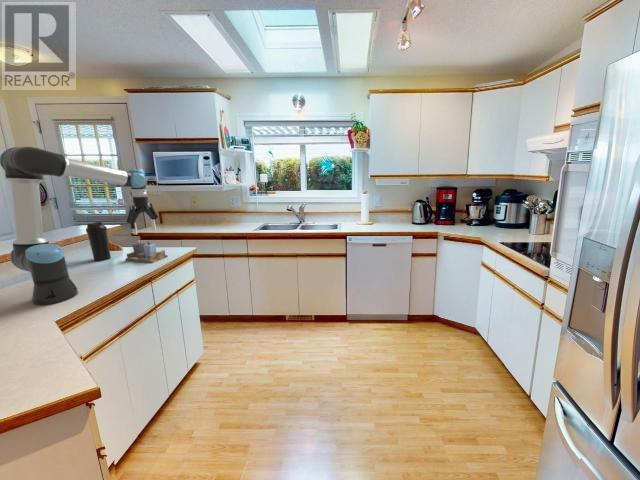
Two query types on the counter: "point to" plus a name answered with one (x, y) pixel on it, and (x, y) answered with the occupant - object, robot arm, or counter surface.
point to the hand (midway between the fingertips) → (144, 231)
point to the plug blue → (149, 249)
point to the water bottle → (98, 241)
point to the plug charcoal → (138, 248)
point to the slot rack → (150, 259)
